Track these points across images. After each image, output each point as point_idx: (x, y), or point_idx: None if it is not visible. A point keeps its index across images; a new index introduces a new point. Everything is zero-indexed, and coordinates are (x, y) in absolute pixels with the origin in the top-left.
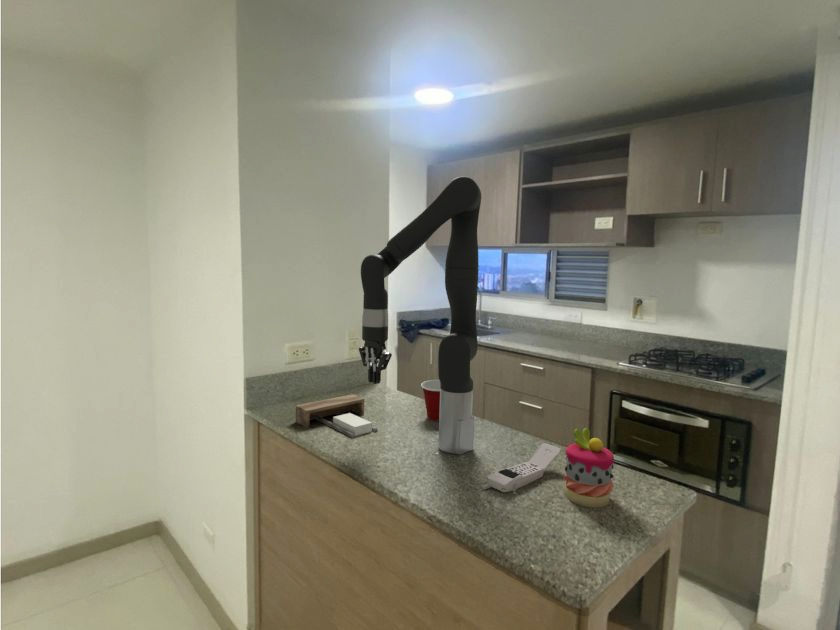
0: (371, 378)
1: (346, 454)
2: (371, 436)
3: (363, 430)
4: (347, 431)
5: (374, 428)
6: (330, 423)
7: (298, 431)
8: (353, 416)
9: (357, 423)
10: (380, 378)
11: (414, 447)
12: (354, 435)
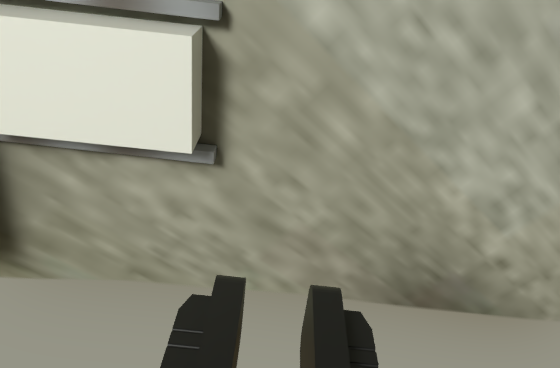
0: (237, 353)
1: (335, 269)
2: (259, 79)
3: (198, 88)
4: (160, 153)
5: (210, 19)
6: (8, 140)
7: (10, 254)
8: (24, 41)
9: (152, 108)
10: (374, 350)
11: (536, 27)
12: (215, 152)
